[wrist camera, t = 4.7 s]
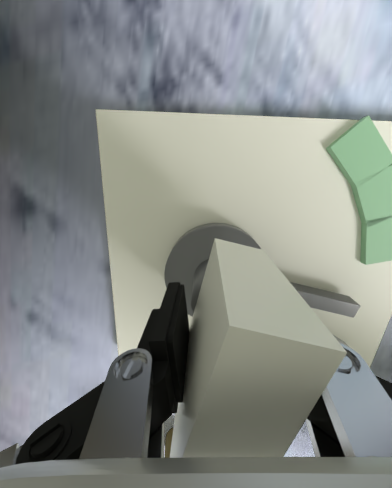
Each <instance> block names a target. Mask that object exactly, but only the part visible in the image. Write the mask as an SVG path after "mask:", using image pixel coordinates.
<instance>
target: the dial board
mask: <svg viewBox="0 0 392 488" xmlns="http://www.w3.org/2000/svg"><path fill="white" fill-rule="evenodd" d="M96 120H97V130H98V141H99V152H100V163H101V173H102V184H103V195H104V206H105V217H106V227H107V238H108V249H109V260H110V270H111V281H112V292H113V303H114V313H115V324H116V335H117V346H118V356H119V355H121V354H122V353H124V352H126V351H128V350H131V349H136V348H137V347H138V344H139V342H140V339H141V337H142V334H143V332H144V329H145V326H146V324H147V321H148V319H149V316H150V314H151V311H152V310H153V309H160V307H161V304H162V301H163V298H164V295H165V292H166V289H167V288H166V285H165V279H164V272H165V266H166V262H167V259H168V257H169V255H170V253H171V250H172V248H173V246H174V245H175V243H176V242H177V241H178V239H179V238H180V237H181V236H182V235H184V234H185V233H186V232H187V231H189V230H191V229H193V228H194V227H197V226H200V225H203V224H207V223H225V224H230V225H233V226H236V227H238V228H240V229H242V230H243V231H245V232H247V233H248V234H249V235H250V236H251V237H252V238H253V239H254V240H255V241H256V243H257V244H258V245H259V246H260V248H261V249H262V250H264V251H265V252H266V254H267V255H268V256H269V257H270V259H271V260H272V261H273V262H274V264H275V265H276V266H277V267H278V268H279V270H280V271H281V272H282V273H283V275H284V276H285V277H286V278H287V279H288V281H289V282H292V283H297V284H301V285H305V286H309V287H313V288H317V289H322V290H326V291H330V292H334V293H338V294H343V295H347V296H349V297H351V298H352V299H353V300H354V301H356V302H357V303H358V304H359V305H360V308H359V310H358V311H357V313H356V315H355V316H354V318H353V317H349V316H344V315H340V314H336V313H332V312H328V311H323V310H319V309H315V308H311V307H310V308H311V309H312V310H313V311H314V312H315V314H316V315H317V316H318V317H319V319H320V320H321V321H322V322H323V323H324V325H325V326H326V327H327V328H328V330H329V331H330V332H331V333H332V334H333V336H334V337H335V338H336V339H337V341H338V342H339V343H341V344H344V345H346V346H348V347H350V348H352V349H353V350H354V351H356V352H357V353H358V354H359V355H360V356H361V357H362V358H363V359H364V360H365V362H366V363H367V365H368V366H369V368H370V366H371V364H372V362H373V359H374V357H375V354H376V352H377V349H378V347H379V344H380V342H381V340H382V337H383V335H384V332H385V330H386V327H387V325H388V323H389V320H390V318H391V315H392V121H372V120H371V118H370V117H369V116H366V117H363V118H362V119H360V120H347V119H322V118H298V117H273V116H249V115H224V114H199V113H175V112H150V111H126V110H101V109H96ZM188 321H189V328H190V324H191V321H192V316H190V315H188Z"/></svg>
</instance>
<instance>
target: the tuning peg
mask: <svg viewBox="0 0 392 488" xmlns="http://www.w3.org/2000/svg"><path fill="white" fill-rule="evenodd" d="M164 279H165V285H166V288H167V286H168V283H171V282H180V285H183V284H184V288H185V297H186V305H187V313H188V315H190V316H192V321H191V324H190V328H189V342H188V352H187V363H186V373H185V383H184V393H183V402H182V403H178V408H177V413H175V419H174V427H173V435H172V442H171V450H170V458H190V457H283V456H284V455H285V453H286V451H287V450H288V448H289V446H290V445H291V443H292V442H293V440H294V438H295V437H296V435H297V433H298V432H299V430H300V429H301V427H302V425H303V424H304V422H305V420H306V419H307V417H308V416H309V414H310V412H311V411H312V409H313V407H314V406H315V404H316V403H317V401H318V399H319V398H320V396H321V394H322V393H323V391H324V390H325V388H326V386H327V385H328V383H329V381H330V380H331V378H332V377H333V375H334V373H335V372H336V370H337V368H338V367H339V365H340V364H341V362H342V360H343V359H344V357H345V355H346V354H347V352H346V350H345V349H344V348H343V347H342V345H341V344H340V343H339V342H338V341H337V339H336V338H335V337H334V336H333V334H332V333H331V332H330V331H329V330H328V328H327V327H326V326H325V325H324V323H323V322H322V321H321V320H320V319H319V317H318V316H317V315H316V314H315V312H314V311H313V310H312V309H311V308H315V309H319V310H323V311H328V312H332V313H336V314H340V315H344V316H349V317H353V318H354V316H355V315H356V313H357V311H358V310H359V308H360V305H359V304H358V303H357V302H356V301H354V300H353V299H352V298H351V297H349V296H347V295H343V294H338V293H334V292H330V291H326V290H322V289H317V288H313V287H309V286H305V285H301V284H297V283H292V282H289V281H288V279H287V278H286V277H285V276H284V275H283V273H282V272H281V271H280V270H279V268H278V267H277V266H276V265H275V264H274V262H273V261H272V260H271V259H270V257H269V256H268V255H267V254H266V252H265V251H264V250H262V249H261V248H260V246H259V245H258V244H257V243H256V241H255V240H254V239H253V238H252V237H251V236H250V235H249V234H248V233H247V232H245V231H243V230H242V229H240V228H238V227H236V226H233V225H230V224H225V223H207V224H203V225H200V226H197V227H194V228H193V229H191V230H189V231H187V232H186V233H185V234H184V235H182V236H181V237H180V238H179V239H178V241H177V242H176V243H175V245H174V246H173V248H172V250H171V253H170V255H169V257H168V259H167V262H166V266H165V272H164ZM310 307H311V308H310Z"/></svg>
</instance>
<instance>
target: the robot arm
mask: <svg viewBox="0 0 392 488" xmlns="http://www.w3.org/2000/svg"><path fill="white" fill-rule="evenodd" d="M188 342H189V321H188V313H187V305H186V297H185V288H184V284H183V285H180V282H171V283H168V286H167V289H166V292H165V295H164V298H163V301H162V304H161V307H160V309H153V310H152V311H151V314H150V316H149V319H148V321H147V324H146V326H145V329H144V332H143V334H142V337H141V339H140V342H139V344H138V347H137V348H136V349H131V350H128V351H126V352H124V353H122V354H121V355H119V356H118V357H117V358H116V359H115V360H114V361H113V362H112V364H111V366H110V368H109V371H108V374H107V377H106V380H105V382H103V383H102V384H100V385H99V386H97V387H96V388H94V389H93V390H91V391H90V392H88V393H87V394H86V395H84V396H83V397H81V398H80V399H78V400H77V401H75V402H74V403H72V404H71V405H69V406H68V407H67V408H65V409H64V410H62V411H61V412H59V413H58V414H56V415H55V416H53V417H52V418H51V419H49V420H48V421H46V422H45V423H43V424H42V425H41V426H40V427H39V428H37V429H36V430H35V431H34V432H33V433H32V434H31V435H30V437H29V438H28V439H27V440H26V442H25V443H24V445H22V446H20V447H19V445H18V443H17V444H15V445H13V446H11V447H9V448H7V449H5V450H3V451H1V452H0V488H392V383H390V382H387V381H385V380H383V379H381V378H379V377H377V376H375V375H374V374H373V372H372V371H371V369H370V368H369V366H368V365H367V363H366V362H365V360H364V359H363V358H362V357H361V356H360V355H359V354H358V353H357V352H356V351H354V350H353V349H352V348H350V347H348V346H346V345H344V344H341V343H340V344H341V345H342V347H343V348H344V349H345V350H346V352H347V354H346V355H345V357H344V359H343V360H342V362H341V364H340V365H339V367H338V368H337V370H336V372H335V373H334V375H333V377H332V378H331V380H330V381H329V383H328V385H327V386H326V388H325V390H324V391H323V393H322V394H321V396H320V398H319V399H318V401H317V403H316V404H315V406H314V407H313V409H312V411H311V412H310V414H309V416H308V417H307V419H306V424H307V428H308V432H309V435H310V439H311V442H312V446H313V450H314V453H315V457H190V458H164V437H165V421H166V420H167V419H168V418H169V417H170V416H171V415H172V413H177V408H178V403H182V402H183V393H184V383H185V373H186V363H187V352H188Z"/></svg>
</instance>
